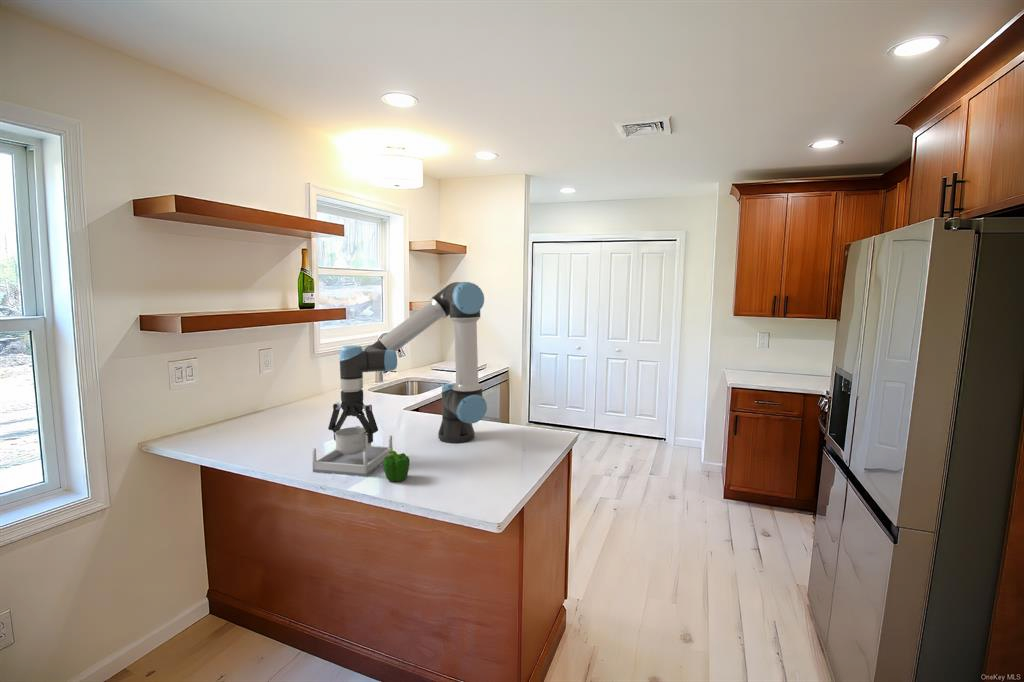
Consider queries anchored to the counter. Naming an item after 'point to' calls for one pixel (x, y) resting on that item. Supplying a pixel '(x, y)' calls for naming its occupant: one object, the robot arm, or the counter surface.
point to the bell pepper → (396, 466)
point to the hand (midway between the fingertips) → (353, 450)
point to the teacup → (350, 440)
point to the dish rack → (351, 461)
